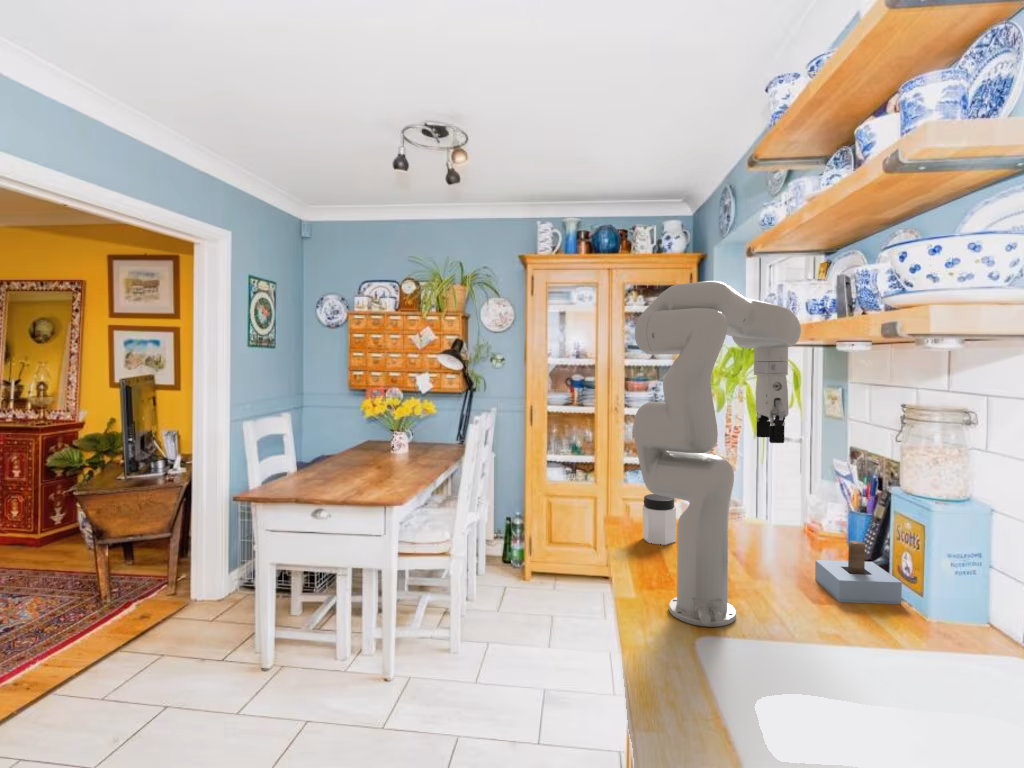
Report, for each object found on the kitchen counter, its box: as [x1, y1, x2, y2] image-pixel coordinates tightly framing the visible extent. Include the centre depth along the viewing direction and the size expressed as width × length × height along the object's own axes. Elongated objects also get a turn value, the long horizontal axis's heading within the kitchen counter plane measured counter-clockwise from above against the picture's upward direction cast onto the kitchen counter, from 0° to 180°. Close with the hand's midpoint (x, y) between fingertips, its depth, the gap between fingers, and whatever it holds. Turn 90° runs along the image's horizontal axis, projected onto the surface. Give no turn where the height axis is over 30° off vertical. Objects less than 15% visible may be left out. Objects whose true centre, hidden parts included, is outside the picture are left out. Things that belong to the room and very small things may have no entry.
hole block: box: [814, 559, 903, 605], centre depth 125 cm, size 12×12×4 cm
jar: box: [642, 493, 677, 546], centre depth 160 cm, size 9×8×12 cm
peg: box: [847, 540, 866, 575], centre depth 125 cm, size 3×3×10 cm
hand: (769, 439), depth 141 cm, fingers open, 9 cm apart
